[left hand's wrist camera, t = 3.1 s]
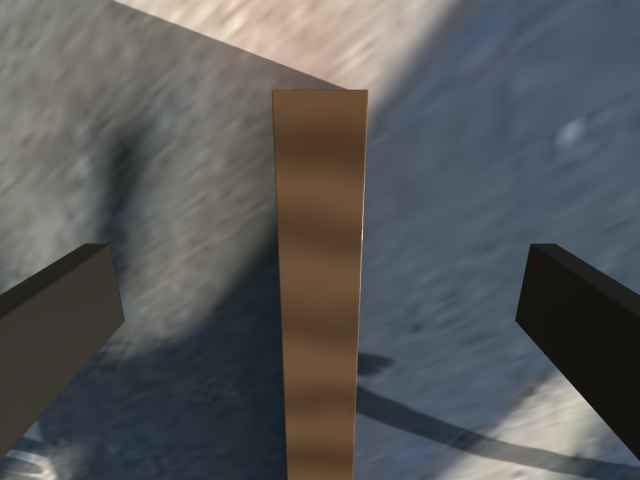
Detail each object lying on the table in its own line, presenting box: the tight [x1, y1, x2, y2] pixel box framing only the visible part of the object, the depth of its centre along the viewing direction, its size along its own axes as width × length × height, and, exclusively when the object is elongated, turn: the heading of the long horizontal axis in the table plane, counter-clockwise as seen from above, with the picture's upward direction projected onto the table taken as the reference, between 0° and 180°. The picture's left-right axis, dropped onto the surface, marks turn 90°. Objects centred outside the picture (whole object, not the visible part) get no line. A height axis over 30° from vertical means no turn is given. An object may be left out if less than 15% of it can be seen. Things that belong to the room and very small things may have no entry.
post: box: [272, 90, 368, 480], centre depth 35 cm, size 56×6×8 cm, turn 0°
